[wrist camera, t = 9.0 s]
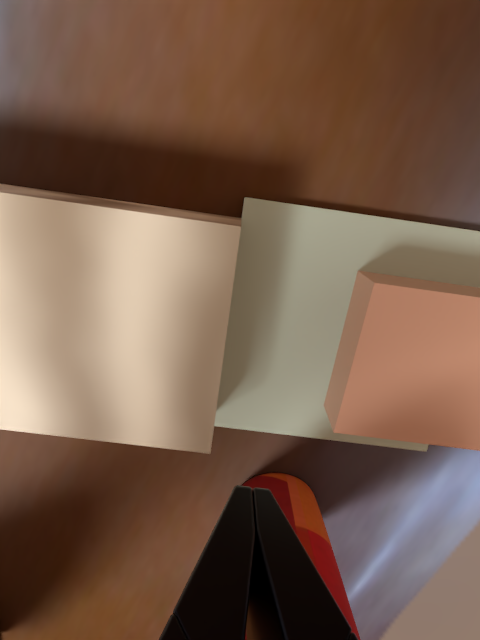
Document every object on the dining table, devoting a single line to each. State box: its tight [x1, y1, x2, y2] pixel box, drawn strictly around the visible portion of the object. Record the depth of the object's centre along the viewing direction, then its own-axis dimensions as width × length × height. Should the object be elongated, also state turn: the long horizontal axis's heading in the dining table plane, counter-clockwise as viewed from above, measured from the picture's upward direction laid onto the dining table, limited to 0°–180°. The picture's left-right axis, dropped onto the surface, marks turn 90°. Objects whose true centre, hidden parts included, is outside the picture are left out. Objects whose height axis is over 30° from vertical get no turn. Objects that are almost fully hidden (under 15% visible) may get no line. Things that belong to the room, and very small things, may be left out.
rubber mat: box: [214, 197, 480, 452], centre depth 20 cm, size 13×13×1 cm
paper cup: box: [242, 473, 360, 640], centre depth 18 cm, size 8×8×14 cm
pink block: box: [324, 271, 480, 451], centre depth 19 cm, size 8×8×2 cm
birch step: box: [0, 184, 242, 454], centre depth 18 cm, size 14×11×4 cm
